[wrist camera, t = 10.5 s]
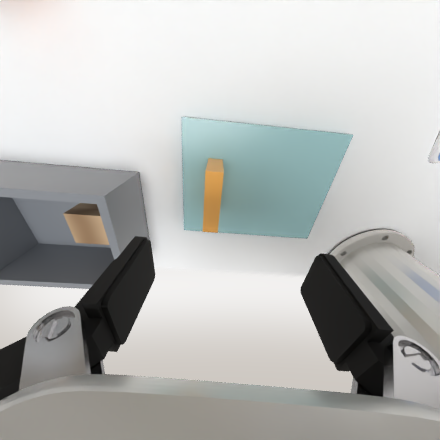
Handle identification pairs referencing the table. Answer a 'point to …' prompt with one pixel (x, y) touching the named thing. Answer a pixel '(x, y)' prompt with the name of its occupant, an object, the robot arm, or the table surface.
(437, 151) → the tablet computer
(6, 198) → the tub
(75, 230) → the part block
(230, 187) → the lid
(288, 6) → the table surface
